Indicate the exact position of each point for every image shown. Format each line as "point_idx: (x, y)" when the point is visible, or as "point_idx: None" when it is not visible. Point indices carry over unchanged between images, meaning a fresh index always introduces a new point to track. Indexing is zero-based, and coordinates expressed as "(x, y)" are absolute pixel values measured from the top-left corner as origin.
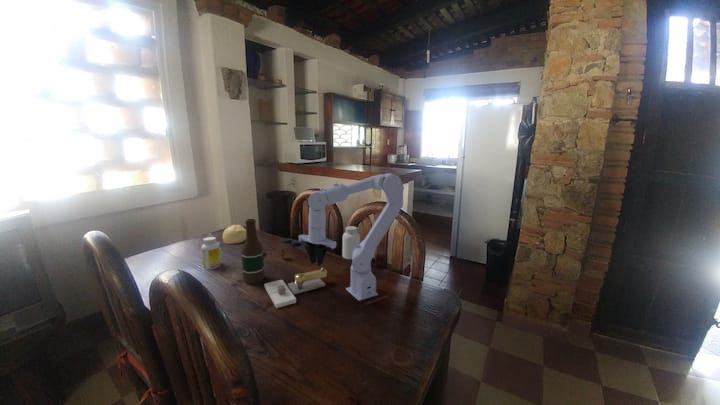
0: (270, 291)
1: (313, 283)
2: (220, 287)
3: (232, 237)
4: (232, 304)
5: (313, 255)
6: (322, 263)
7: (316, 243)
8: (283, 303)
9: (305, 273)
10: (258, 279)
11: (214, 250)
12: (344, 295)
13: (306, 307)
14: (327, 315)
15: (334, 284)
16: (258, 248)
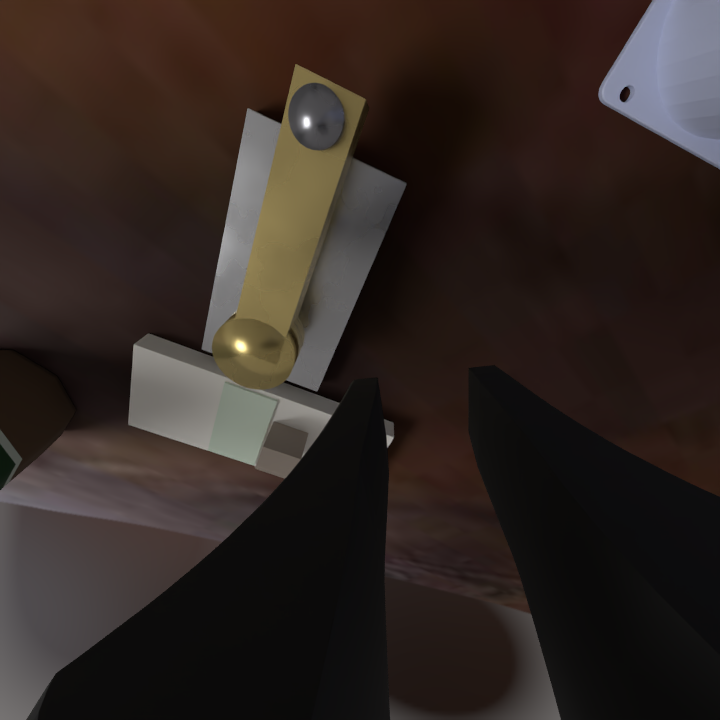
0: (236, 457)
1: (327, 244)
2: (36, 494)
3: None
4: (208, 529)
5: (376, 508)
6: (500, 370)
7: None
8: None
9: (252, 302)
10: (57, 414)
11: None
12: (626, 204)
13: (467, 424)
14: (605, 420)
15: (455, 95)
16: None
